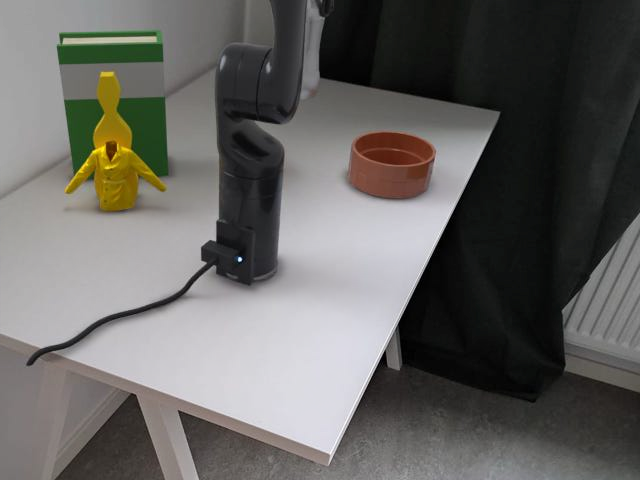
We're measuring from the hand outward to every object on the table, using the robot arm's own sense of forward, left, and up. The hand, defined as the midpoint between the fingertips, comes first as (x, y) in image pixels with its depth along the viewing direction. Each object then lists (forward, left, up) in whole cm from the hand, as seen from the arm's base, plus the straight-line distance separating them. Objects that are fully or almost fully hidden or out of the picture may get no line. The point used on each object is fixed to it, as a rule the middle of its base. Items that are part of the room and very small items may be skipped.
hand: (306, 12), depth 121 cm
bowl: (+6, -17, -28) cm, 34 cm away
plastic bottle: (0, 0, -15) cm, 14 cm away
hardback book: (-18, +28, -29) cm, 44 cm away
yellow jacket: (-29, +20, -29) cm, 45 cm away
